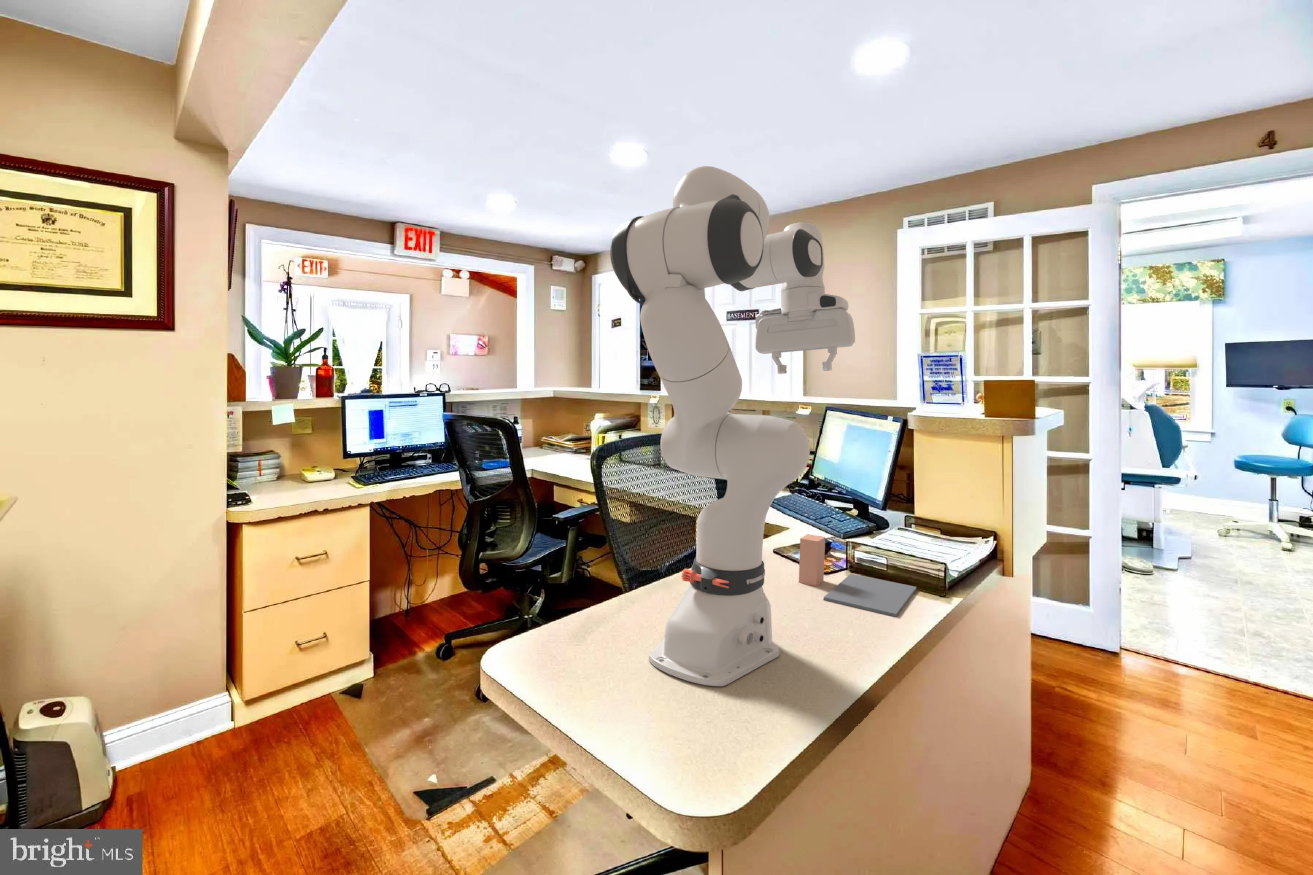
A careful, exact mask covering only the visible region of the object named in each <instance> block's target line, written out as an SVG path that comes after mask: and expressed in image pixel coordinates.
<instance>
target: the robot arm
mask: <svg viewBox="0 0 1313 875" xmlns="http://www.w3.org/2000/svg"><path fill="white" fill-rule="evenodd" d="M769 227H770V212H769V207H768V206H767V203H766V201H765V200H764V198H763V196H762V195H761V194H760V193H759V192H758V191H756V190H755V189H754V188H753V187H752V186H751V185H750V184H748V183H747V182H745V181H744V180H743V179H742V178H739V177H738V176H736V175H734V174H733V173H730V172H728V171H726V170H724V169H722V168H717V167H714V166H712V165H711V166H708V165H702V166H698V167H696V168H692V169H691V170H689V171H688V172H687V173H685V175H684V176H683V177H682V178H681V179H680V181H678V183H677V185H676V188H675V190H674V193H673V197H672V207H670V208H666V209H663V210H659V211H656V212H654V213H650V214H648V215H647V214H646V216H645V215H644V216H643V215H639V216H635V217H633V218H631V219H629V220H628V221H625V222H624V223H622V224H620V225H618V227H617V228H616V229H615V230H614V233H613V236H612V239H611V243H610V250H609V251H610V253H609V255H610V256H609V257H610V262H611V267H612V269H613V271H614V272H613V273H614V274H615V275H616V278H617V279H618V282H619V283H620V285H621V286H622V287H623V289H624V290H625V291H626V292H627V293H628V295H629V296H630V297H631V299H632V300H633V301H635V302H636V303H637V304H638V305H639V304H640V305H642V306H641V309H640V316H639V318H640V319H639V320H640V325H641V330H642V333H643V337H644V341H645V345H646V347H647V350H648V351H647V352H648V353H649V356H650V358H651V360H652V363H653V366H654V368H655V370H656V372H657V375H658V376H659V378H660V380H661V383H662V385H663V386H664V389H665V390H666V393H667V396H668V398H669V400H670V402H671V405H672V408H673V412H674V413H673V417H672V418H670V419H669V420H668V421H667V423H666V424H665V426H664V428H662V429H663V430H662V432H661V436H660V452H661V455H662V458H663V460H664V462H665V464H666V465H667V466H668V467H670V468H671V469H674V470H677V471H680V472H683V473H685V474H688V475H691V476H694V477H695V476H696V477H702V478H711V479H719V480H726V481H727V482H726V483H727V484H726V485H727V486H726V491H725V494H724V496H723V497H721V498H719V499H717V500H714V501H712V502H711V503H709V504H707V505H706V506H704V508H702V510H701V511H700V513H699V515H698V517H697V519H696V545H695V546H696V554H695V557H694V559H693V564H692V566H691V569H688V568H684V569H683V570H682V573H681V580H682V581H683V582H689V585H688V587H687V588H686V590H685V592H684V594H683V595H682V597H681V598H680V600H679V601H678V603H677V604H676V606H675V607H674V609H673V611H672V613H671V614H670V615H669V617H668V618H667V622H666V624H665V631H664V638H663V639H662V640H661V641H660V642H659V643H658V644H657V645H656V646H655V647H654V648H653V649H652V650H651V651H650V652H649V655H648V661H649V662H650V664H652V665H653V666H654V667H655V668H657V669H658V670H661V671H662V672H664V673H666V674H668V675H670V676H674V677H676V678H678V679H681V680H684V681H687V682H689V683H690V682H691V683H694V684H698V685H703V686H709V687H710V686H711V687H725V686H727V685H729V684H731V683H733V682H734V681H736V680H738V679H739V678H741V677H743V676H745V675H747V674H749V673H751V672H753V671H754V670H756V669H758V668H759V667H761V666H763V665H765V664H767V663H769V662H771V661H773V660H774V659H777V658H778V657H779V656H780V649H779V647H778V646H777V645H776V644H775V643H774V642H773V628H772V626H773V625H772V623H773V622H772V605H771V603H770V600H769V598H768V597H767V596H766V593H765V591H764V588H763V586H764V584H765V576H766V570H765V562H764V560H763V547H764V546H763V544H764V531H765V526H766V525H765V523H766V520H767V514H768V512H769V510H770V507H771V505H772V503H773V501H774V500H775V498H776V497H777V495H779V494H780V492H781V491H783V490H784V489H785V488H786V487H787V486H788V485H790V484H791V483H793V482H795V481H796V480H797V479H798V478H799V477H800V476H801V475H802V474H803V473H804V471H805V470H806V467H807V465H808V463H809V460H810V454H811V453H810V452H811V448H810V447H811V446H810V441H809V438H808V436H807V434H806V432H805V429H804V428H803V427H802V426H801V425H800V424H799V423H798V422H796V421H794V420H793V421H792V420H790V419H786V418H782V417H778V416H773V415H770V414H769V415H768V414H767V415H765V414H745V413H744V414H743V413H733V412H729V411H731V410H732V408H734V407H735V405H736V404H737V403H738V401H739V399H740V397H741V394H742V390H743V379H742V376H741V373H740V370H739V367H738V366H737V365H738V364H737V363H736V360H735V356H734V354H733V351H732V349H731V346H730V344H729V340H728V338H727V336H726V334H725V331H724V329H723V326H722V324H721V323H720V321H719V319H718V317H717V315H716V313H715V312H714V310H713V308H712V306H711V305H710V303H709V302H708V300H707V299H706V289H707V288H711V287H715V286H720V285H723V284H725V285H730V286H732V288H733V289H736V290H737V291H739V292H745V291H751V290H754V289H756V288H762V287H768V286H773V285H780V284H782V286H781V290H780V305H781V307H780V308H773V309H766V310H762V311H761V312H759V314H757V315H756V317H755V329H756V333H755V347H754V348H755V350H756V351H757V352H758V353H759V354H762V355H769V354H771V358H772V360H773V361H774V364H775V365H776V366H777V368H776V369H777V374H778V375H785V374H788V372H787V371H788V370H787V368H788V367H787V366H788V365H785V364H783V363H782V362H781V360H780V358H782V353H792V352H803V351H814V350H815V351H816V350H825V349H827V353H828V354H829V356H828V357H827V360H826V361H822V363H821V364H822V371H823V372H827V371H829V372H831V371H832V370H833V368H832V366H833V365H832V363H833V361H834V360H835V358H836V355H838V349H839V348H847V347H848V348H849V347H853V345H854V343H855V342H856V332H855V325H854V321H853V317H852V315H851V314H850V313H849V312H848V310H849V302H848V300H846V299H845V298H844V297H842V296H840V295H834V294H828V293H825V290H826V289H825V285H824V281H823V276H824V275H823V274H824V271H825V255H824V254H825V252H824V245H823V239H822V233H821V229H820V227H819V226H818V225H816V224H814V223H812V222H808V221H797V222H794V223H790V224H789V225H787V226H786V227H785V228H784V229H783V231H778V232H775V233H769V234H768V232H769Z"/></svg>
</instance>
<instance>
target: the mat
mask: <svg viewBox="0 0 1313 875" xmlns="http://www.w3.org/2000/svg"><path fill="white" fill-rule="evenodd" d="M916 591H917V586H913V585H910V584H903V583H899V582H895V581H890V580H885V579H879V578H875V577H870V576H869V577H868V576H865V575H861V574H854V573H850V574H848V575H847V576H846V577H845V578H844V579H843V580H842V581H840V582H839V583H838V584H837V585H835V587H833V588H832V589H831V590H830V591H829V592H828V593H826V594H825V595H824V596H823V601H827V602H830V603H835V604H839V605H845V606H848V607H852V608H857V609H859V610H860V609H861V610H865V611H869V612H874V613H876V614H877V613H878V614H883V615H886V616H890V617H895V618H896V617H898V615H899V614H900V612H901V611H902V610H903V608H904V607H905V606H906V604H907V603H908V602H909V601H910V599H911V597H913V595H914V593H916Z"/></svg>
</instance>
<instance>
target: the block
mask: <svg viewBox="0 0 1313 875" xmlns="http://www.w3.org/2000/svg"><path fill="white" fill-rule="evenodd" d="M825 550H826V536H820V535H816V534H815V535H814V534H809V533H807V534H806V535H804V536H801V537H800V539H799V564H798V583H800V584H804V585H808V586H809V585H810V586H812V587H817V586H819V585H821V583H823V582H824V579H825V578H824V577H825V576H824V575H825V554H826V551H825Z"/></svg>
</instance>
